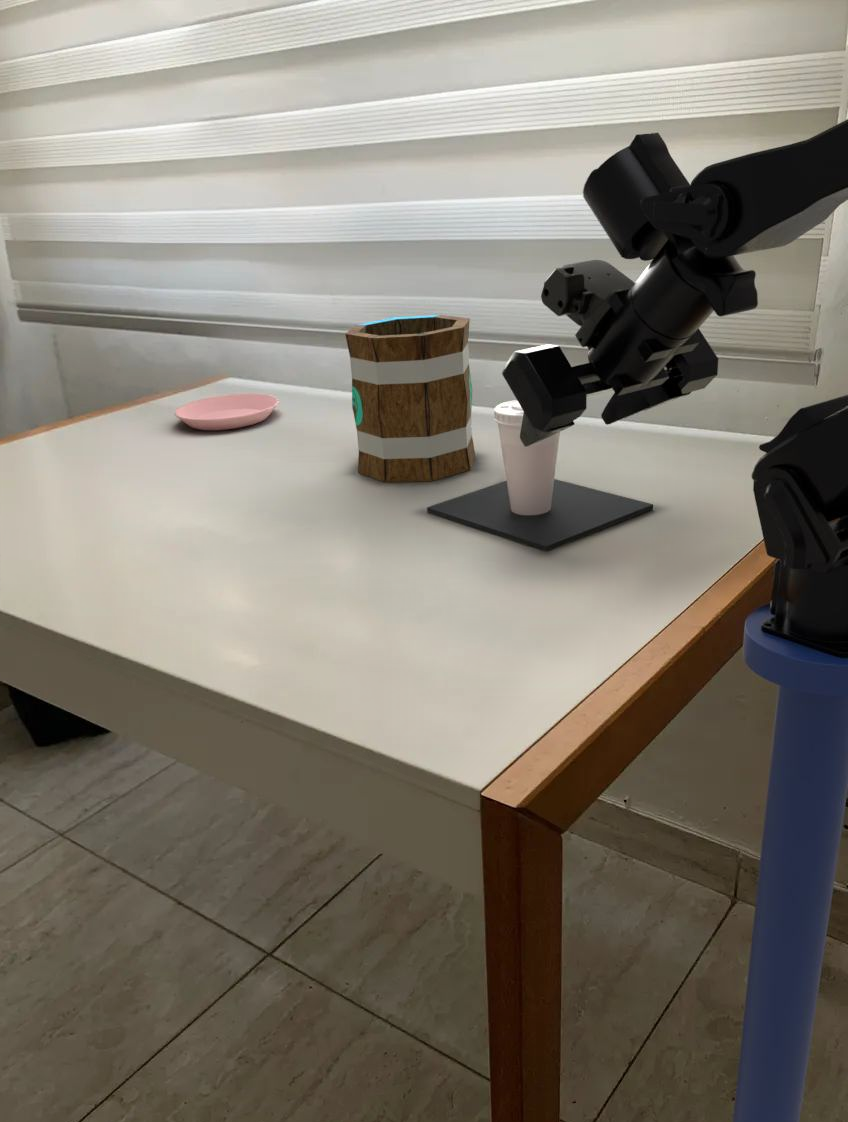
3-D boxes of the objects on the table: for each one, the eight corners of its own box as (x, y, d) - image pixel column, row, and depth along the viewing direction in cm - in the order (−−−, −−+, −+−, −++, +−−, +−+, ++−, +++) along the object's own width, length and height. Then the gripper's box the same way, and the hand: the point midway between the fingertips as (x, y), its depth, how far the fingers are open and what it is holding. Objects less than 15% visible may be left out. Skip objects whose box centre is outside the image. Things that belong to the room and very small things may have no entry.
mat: (653, 509, 94) (653, 504, 94) (546, 551, 87) (546, 546, 87) (529, 477, 106) (529, 472, 106) (426, 512, 99) (426, 507, 99)
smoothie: (550, 494, 99) (549, 347, 93) (576, 514, 93) (576, 359, 87) (487, 503, 98) (482, 356, 92) (509, 524, 93) (505, 368, 86)
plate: (196, 440, 132) (194, 425, 131) (163, 420, 144) (161, 406, 143) (296, 419, 137) (295, 405, 136) (257, 402, 149) (255, 388, 148)
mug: (493, 472, 109) (488, 327, 102) (369, 489, 107) (356, 343, 100) (445, 429, 126) (439, 303, 120) (338, 444, 124) (326, 317, 118)
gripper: (698, 210, 81) (600, 339, 95) (514, 239, 73) (435, 376, 86) (772, 320, 78) (660, 437, 92) (589, 363, 70) (496, 484, 84)
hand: (565, 430), depth 89 cm, fingers open, 9 cm apart
